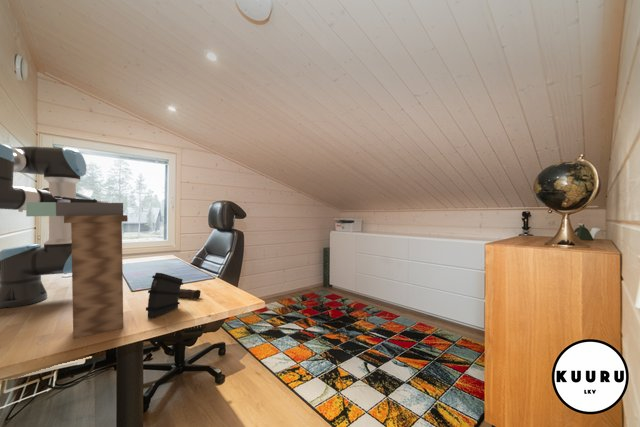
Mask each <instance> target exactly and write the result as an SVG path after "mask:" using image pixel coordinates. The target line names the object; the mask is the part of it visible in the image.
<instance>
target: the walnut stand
mask: <svg viewBox="0 0 640 427" xmlns="http://www.w3.org/2000/svg"><path fill="white" fill-rule="evenodd" d="M128 219H129V218H128V214H123V215H99V216H64V223H71V240H72V273H71V281H72V282H71V284H72V285H71V288H72V339H76V338H81V337H86V336H90V335H96V334H100V333H104V332H110V331H113V330H114V331H115V330H118V329H123V328H124V287H123V285H124V284H123V281H124V279H123V278H124V277H123V275H124V274H123V222H125V223H126V222H128V221H129V220H128Z"/></svg>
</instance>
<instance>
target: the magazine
mask: <svg viewBox="0 0 640 427" xmlns="http://www.w3.org/2000/svg"><path fill="white" fill-rule="evenodd" d="M151 278H152V279H153V280H152V282H151V286H150V289H148V291H147V294H149V295H148V302H147V306H146V307H145V311H147V318H149V319H155V318H157V317H158V318H159V317H160V316H162V315H165V314H167V313H170V312H172V311H174V310H177V309H178V308H179V305H180V304H181V302H179V297H178V296H179V295H180V294H181V293H179V290H180V289H181V286H183V285H184V282H183V280H184V279H183V278H180V277H176V276H172V275H169V274H166V273H161V272H155V274H154V275H152V277H151Z"/></svg>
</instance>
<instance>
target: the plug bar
mask: <svg viewBox="0 0 640 427" xmlns="http://www.w3.org/2000/svg"><path fill="white" fill-rule="evenodd" d="M25 211H26V213H25V214H26V217H49V216H99V215H124V202H108V203H70V202H26V210H25Z"/></svg>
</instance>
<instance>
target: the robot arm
mask: <svg viewBox="0 0 640 427" xmlns="http://www.w3.org/2000/svg"><path fill="white" fill-rule="evenodd" d="M14 173H20V174H21V173H22V174H29V175H43V179H44V180H45V181H46V182H48V190H46V189H39V188H32V187H26V186H21V185H19V186H18V185H17V186H16V185H14ZM86 174H87V164H86V161H85V158H84V155H82V153H81V151H79V150H77V149H75V148H67V147H50V146H33V145H32V146H16V147H15V146H14V147H11V146H9V145H8V144H3V143H0V210H12V211H13V210H14V211H18V212H19V213H22V212H23V211H26V202H70V203H109V201H101V200H97V199H88V198H77V184H78V183H79V182H80V181H81V177H84V176H85V175H86ZM61 274H62V275H63V274H64V275H68V274H72V240H71V223H64V216H48V239H47V240H46V241H45V242H44V243H43V247H42V246H41V244H40V243H35V244H28V245H27V244H26V245H21V246H15V247H8V248H4V249H2V250H0V309H5V308H6V307H8V308H15V307H22V306H26V305H31V304H34V303H35V304H36V303H39V302H42V301H44V300H46V299H47V298H48V292H47V290H46V288H45V286H44V284H43V282H42V276H47V275H61Z"/></svg>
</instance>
